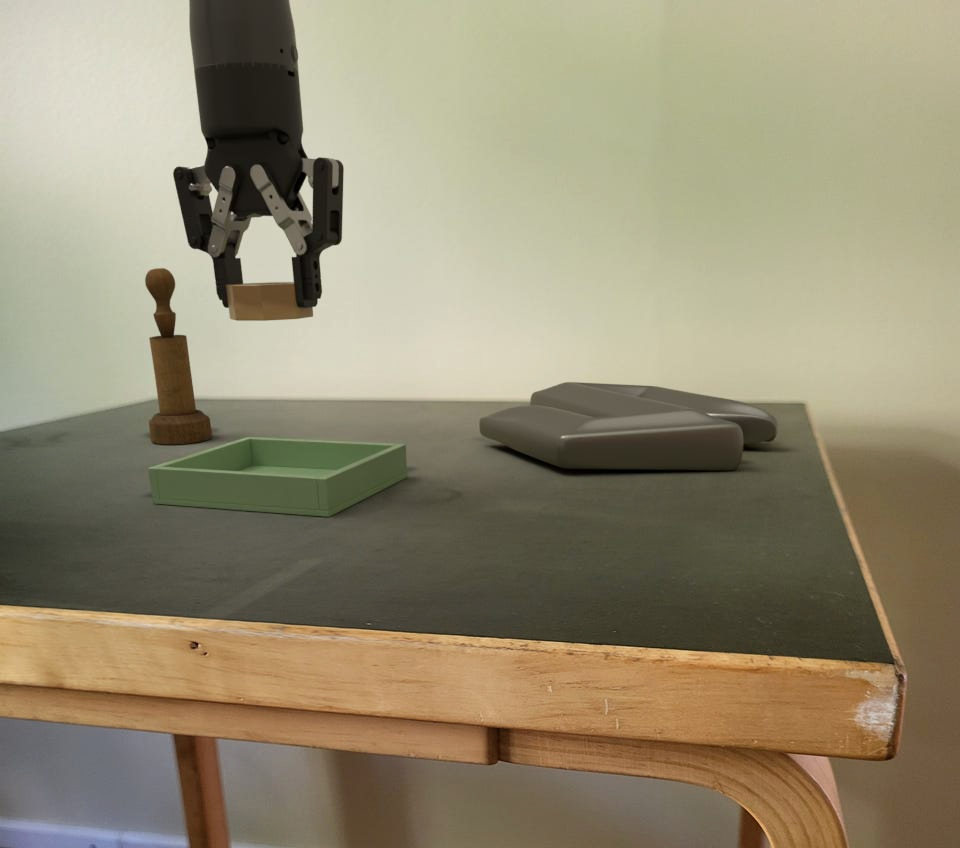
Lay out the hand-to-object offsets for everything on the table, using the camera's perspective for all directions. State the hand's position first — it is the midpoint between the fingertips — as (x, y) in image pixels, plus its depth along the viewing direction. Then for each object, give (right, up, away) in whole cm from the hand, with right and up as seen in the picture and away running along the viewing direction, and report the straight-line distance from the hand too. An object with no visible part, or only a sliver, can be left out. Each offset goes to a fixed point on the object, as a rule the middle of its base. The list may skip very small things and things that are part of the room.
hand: (270, 306), depth 77 cm
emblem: (+31, -7, +20) cm, 38 cm away
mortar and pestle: (-17, -4, +32) cm, 36 cm away
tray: (0, -14, +7) cm, 15 cm away
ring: (0, -1, 0) cm, 1 cm away
